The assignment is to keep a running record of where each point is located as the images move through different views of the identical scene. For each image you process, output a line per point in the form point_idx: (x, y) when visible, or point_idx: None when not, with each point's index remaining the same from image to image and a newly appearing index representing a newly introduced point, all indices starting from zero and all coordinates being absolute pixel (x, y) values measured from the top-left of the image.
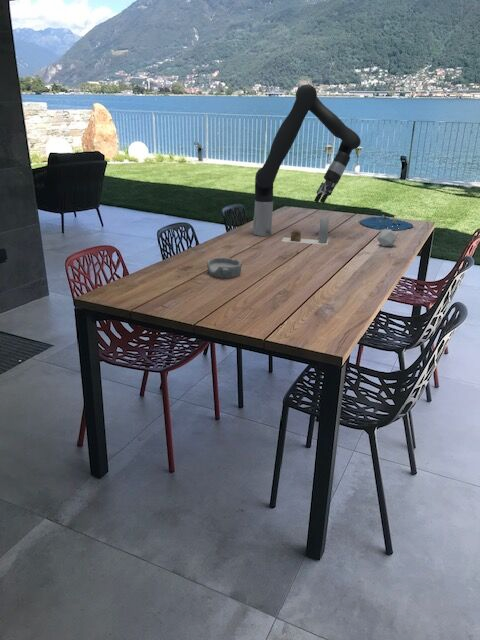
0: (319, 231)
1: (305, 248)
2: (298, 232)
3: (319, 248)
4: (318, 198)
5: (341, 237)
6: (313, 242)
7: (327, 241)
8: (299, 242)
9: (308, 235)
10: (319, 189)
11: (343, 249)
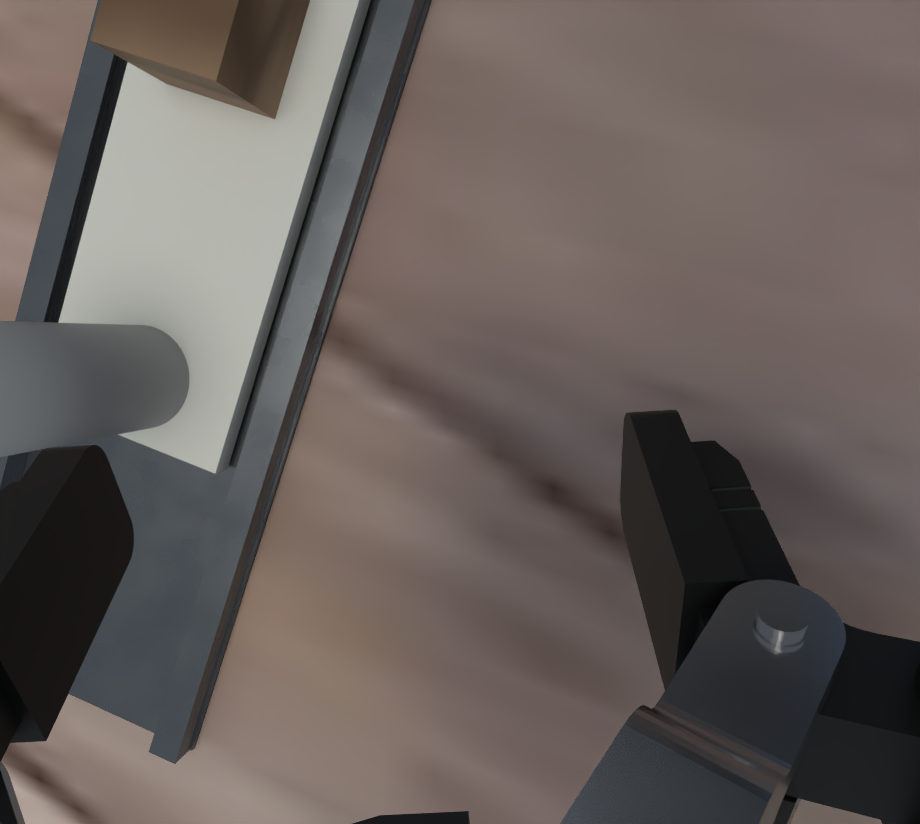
0: (48, 322)
1: (35, 133)
2: (100, 9)
3: None
4: (652, 573)
5: (550, 762)
6: (133, 256)
7: (180, 452)
8: (130, 70)
9: (689, 339)
10: (712, 757)
11: None
